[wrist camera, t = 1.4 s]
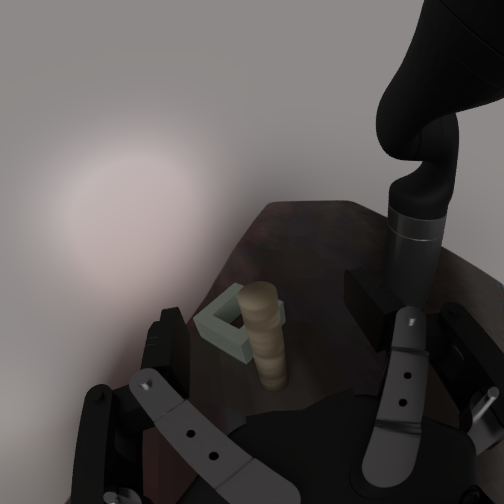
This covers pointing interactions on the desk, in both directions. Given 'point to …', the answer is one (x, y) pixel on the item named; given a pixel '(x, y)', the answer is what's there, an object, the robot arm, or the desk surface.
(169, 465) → the desk surface
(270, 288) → the peg
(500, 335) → the desk surface
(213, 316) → the socket
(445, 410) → the desk surface
